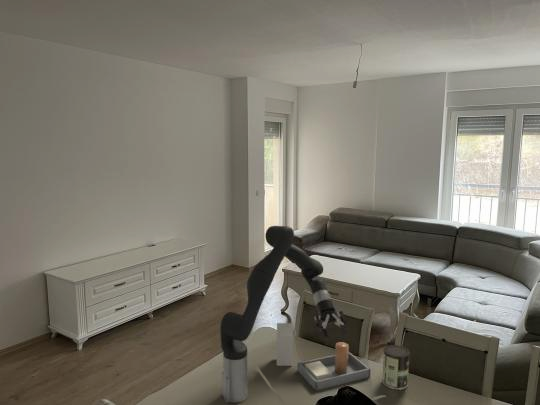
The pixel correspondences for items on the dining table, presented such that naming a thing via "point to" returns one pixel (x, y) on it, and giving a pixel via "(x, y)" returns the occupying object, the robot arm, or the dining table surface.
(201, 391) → the dining table surface
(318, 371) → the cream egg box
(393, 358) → the coffee can
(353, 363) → the tray
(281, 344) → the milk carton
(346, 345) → the terracotta jar
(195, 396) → the dining table surface
